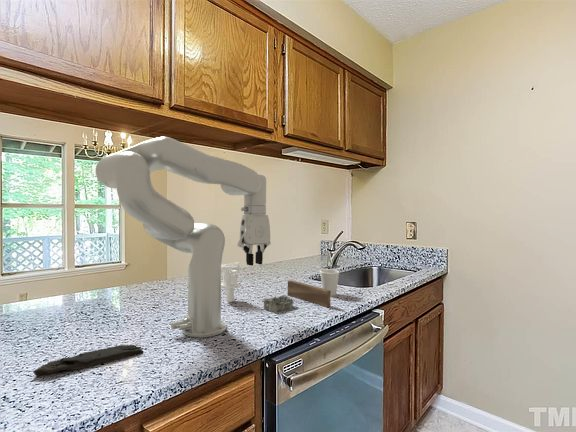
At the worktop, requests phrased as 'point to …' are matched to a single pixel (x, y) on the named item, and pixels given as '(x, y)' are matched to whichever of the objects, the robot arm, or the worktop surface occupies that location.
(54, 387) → the worktop surface
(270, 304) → the egg carton
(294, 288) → the walnut board
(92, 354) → the wood
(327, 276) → the dixie cup
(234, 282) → the white plastic bottle
